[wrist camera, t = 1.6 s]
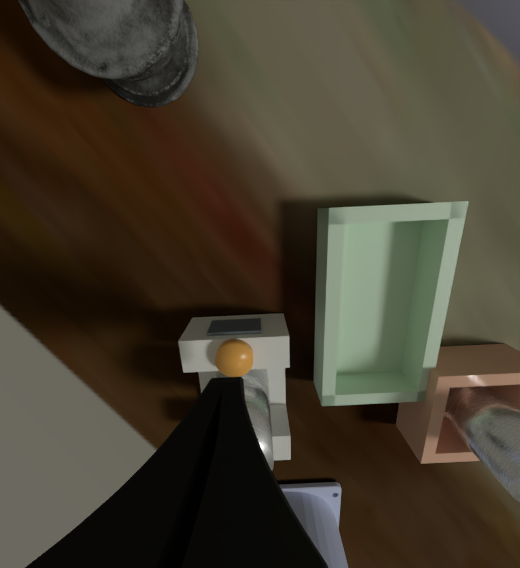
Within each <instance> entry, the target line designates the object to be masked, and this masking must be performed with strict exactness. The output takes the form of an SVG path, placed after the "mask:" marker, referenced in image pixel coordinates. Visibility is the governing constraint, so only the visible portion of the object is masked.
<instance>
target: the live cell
mask: <svg viewBox="0 0 520 568" xmlns="http://www.w3.org/2000/svg"><path fill="white" fill-rule="evenodd" d="M221 377H229V376H226V375H224V374H222V373H221V372H220V371H217V373H216V377H215V378H221ZM240 377H242V378H243V380H244V392H245V401H246V406H247V409H248V413H249V416H250V419H251V422H252V425H253V428H254V431H255V434H256V436H257V439H258V442H259V444H260V446H261V449H262V451H263V453H264V456H265V458H266V460H267V462H268V464H269V466H270V468H271V470H273V466H274V458H273V443H272V428H271V413H270V399H269V384H268V372H267V369H251V370H250V371H249V372H248V373H247V374H245V375H243V376H240Z"/></svg>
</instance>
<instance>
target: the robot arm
mask: <svg viewBox="0 0 520 568" xmlns="http://www.w3.org/2000/svg"><path fill="white" fill-rule="evenodd" d="M340 502H341V486H340V484H339V483H337V482H322V483H301V484H278V482H277V480H276V479H275V477H274V475H273V473H272V470H271V468H270V466H269V464H268V462H267V460H266V458H265V456H264V453H263V451H262V449H261V446H260V444H259V442H258V439H257V436H256V434H255V431H254V428H253V425H252V422H251V419H250V416H249V413H248V409H247V406H246V401H245V392H244V380H243V378H242V377H221V378H211V379H210V380H209V382H208V384H207V385H206V387H205V388H204V390H203V391H202V393H201V394H200V396H199V397H198V399H197V400H196V402H195V403H194V404H193V406H192V407H191V409H190V410H189V411H188V413H187V414H186V415H185V417H184V418H183V419H182V421H181V422H180V423H179V425H178V426H177V427H176V428H175V429H174V431H173V432H172V433H171V434H170V436H169V437H168V438H167V439H166V440H165V442H164V443H163V444H162V445H161V446H160V447H159V449H158V450H157V451H156V452H155V453H154V454H153V455H152V456H151V458H149V460H148V461H147V462H146V463H145V464H144V465H143V466H142V467H141V468H140V469H139V470H138V471H137V472H136V473H135V474H134V475H133V476H132V477H131V478H130V479H129V480H128V481H127V482H126V483H125V484H124V485H123V486H122V487H121V488H120V489H119V490H118V491H117V492H116V493H114V494H113V495H112V496H111V497H110V498H109V499H108V500H107V501H106V502H105V503H103V504H102V505H101V506H100V507H99V508H98V509H97V510H95V511H94V512H93V513H92V514H91V515H90V516H89V517H87V518H86V519H85V520H84V521H83V522H82V523H81V524H79V525H78V526H77V527H76V528H75V529H73V530H72V531H71V532H70V533H69V534H67V535H66V536H65V537H64V538H62V539H61V540H60V541H59V542H57V543H56V544H55V545H54V546H52V547H51V548H50V549H48V550H47V551H46V552H45V553H43V554H42V555H41V556H40V557H38V558H37V559H36V560H34V561H33V562H32V563H30V564H29V565H28V566H27V567H25V568H348V565H347V561H346V557H345V553H344V549H343V545H342V541H341V537H340V533H339V529H338V528H339V515H340Z"/></svg>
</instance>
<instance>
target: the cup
mask: <svg viewBox="0 0 520 568" xmlns="http://www.w3.org/2000/svg"><path fill="white" fill-rule="evenodd" d="M474 386H489V387H490V388H492V389H493V390H494V391H496V392H497V393H498V394H499V395H501V396H502V397H503V398H505V399H506V400H507V401H509V402H510V403H511V404H513V405H514V406H515V407H517V408H518V409H519V410H520V351H518V350H516V349H514V348H512V347H511V346H509V345H507V344H487V345H466V346H445V347H440V348H439V353H438V358H437V363H436V368H435V369H430V374H429V379H428V384H427V389H426V395H425V400H424V401H421V402H400V403H399V407H398V414H397V420H396V426H397V427H398V429H399V430H400V432H401V433H402V435H403V437H404V438H405V440H406V441H407V443H408V444H409V446H410V447H411V449H412V450H413V452H414V454H415V455H416V457H417V458H418V460H419V461H420V463H442V462H463V461H480V460H479V459H478V457H477V456H476V455H475V454H474V453H473V452H472V451H471V450H470V448H469V447H468V446H467V445H466V444H465V443H464V442H463V441H462V439H461V438H460V437H459V436H458V435H457V434H456V433H455V432H454V431H453V429H452V428H451V427H450V426H449V425H448V424H447V423H446V422H445V420H444V419H443V417H444V412H445V408H446V403H447V399H448V395H449V390H450V388H453V387H474Z"/></svg>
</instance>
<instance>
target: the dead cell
mask: <svg viewBox="0 0 520 568" xmlns="http://www.w3.org/2000/svg"><path fill="white" fill-rule="evenodd" d="M443 419H444V420H445V422H446V423H447V424H448V425H449V426H450V427H451V428H452V429H453V431H454V432H455V433H456V434H457V435H458V436H459V437H460V438H461V439H462V441H463V442H464V443H465V444H466V445H467V446H468V447H469V448H470V450H471V451H472V452H473V453H474V454H475V455H476V456H477V457H478V459H479V460H480V461H481V462H482V463H483V464H484V465H485V466H486V467H487V469H488V470H489V471H490V472H491V473H492V474H493V475H494V476H495V478H496V479H497V480H498V481H499V482H500V483H501V484H502V485H503V486H504V488H505V489H506V490H507V491H508V492H509V493H510V494H511V495H512V497H513V498H514V499H516V500H517V501H519V502H520V410H519V409H518V408H517V407H515V406H514V405H513V404H511V403H510V402H509V401H507V400H506V399H505V398H503V397H502V396H501V395H499V394H498V393H497V392H496V391H494V390H493V389H492V388H490V387H489V386H474V387H453V388H450V390H449V395H448V399H447V403H446V408H445V412H444V417H443Z"/></svg>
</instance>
